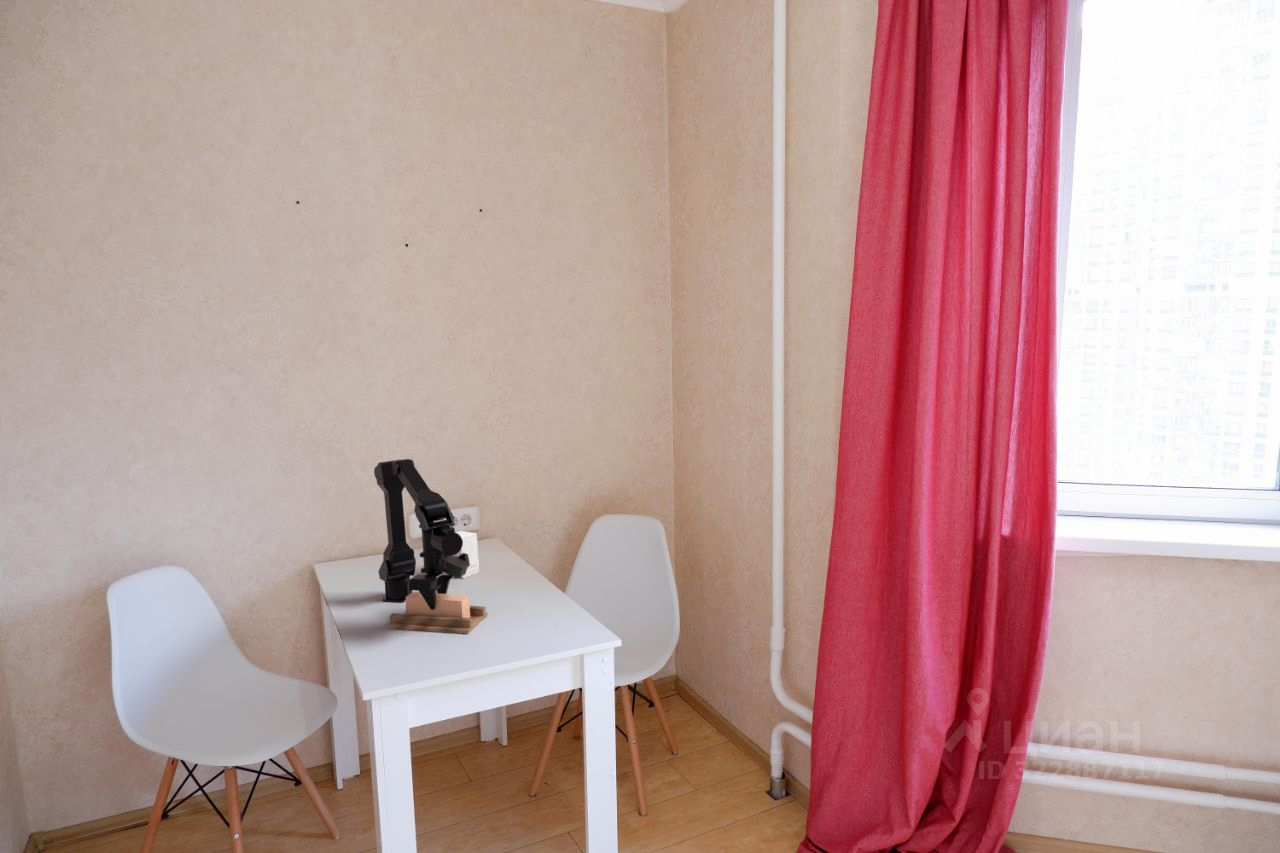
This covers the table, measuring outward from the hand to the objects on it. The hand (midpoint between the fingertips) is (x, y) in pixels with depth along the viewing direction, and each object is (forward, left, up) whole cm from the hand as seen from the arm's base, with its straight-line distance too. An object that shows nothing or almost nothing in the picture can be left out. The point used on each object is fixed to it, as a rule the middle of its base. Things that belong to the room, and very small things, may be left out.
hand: (437, 605), depth 195 cm
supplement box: (-11, +38, -5) cm, 40 cm away
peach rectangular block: (0, 0, -4) cm, 4 cm away
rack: (0, 0, -4) cm, 4 cm away
